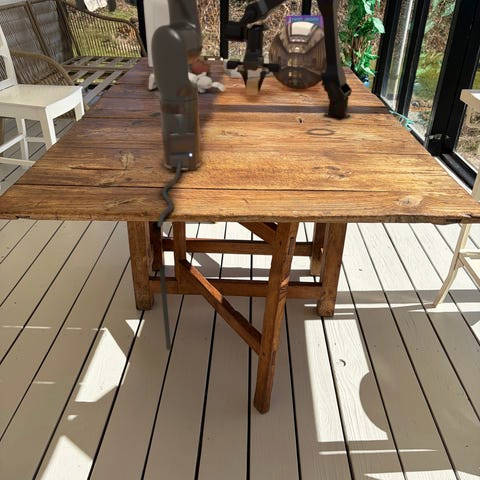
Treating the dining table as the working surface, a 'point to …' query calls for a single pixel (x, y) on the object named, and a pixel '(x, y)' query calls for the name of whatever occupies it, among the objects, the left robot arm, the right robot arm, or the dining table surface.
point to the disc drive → (250, 73)
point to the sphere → (299, 54)
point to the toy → (200, 80)
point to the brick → (252, 86)
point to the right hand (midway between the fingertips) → (253, 90)
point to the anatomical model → (200, 66)
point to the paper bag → (154, 20)
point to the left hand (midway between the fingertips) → (97, 11)
